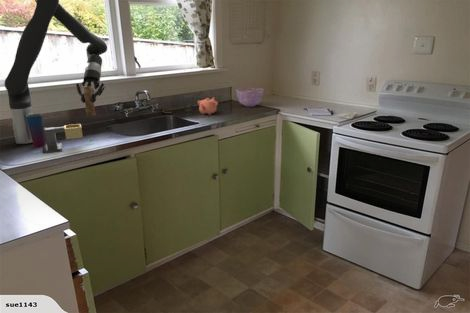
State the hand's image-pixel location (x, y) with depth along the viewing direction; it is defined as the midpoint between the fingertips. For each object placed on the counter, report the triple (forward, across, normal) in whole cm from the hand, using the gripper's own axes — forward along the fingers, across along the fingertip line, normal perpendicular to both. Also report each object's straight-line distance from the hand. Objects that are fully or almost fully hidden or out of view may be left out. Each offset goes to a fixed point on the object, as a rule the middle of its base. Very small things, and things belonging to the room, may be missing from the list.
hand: (88, 101), depth 183 cm
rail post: (+4, 0, +6) cm, 7 cm away
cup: (+19, -24, +10) cm, 32 cm away
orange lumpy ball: (-29, +56, +57) cm, 85 cm away
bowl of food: (-46, +85, +74) cm, 122 cm away
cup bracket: (+22, -10, +7) cm, 25 cm away
